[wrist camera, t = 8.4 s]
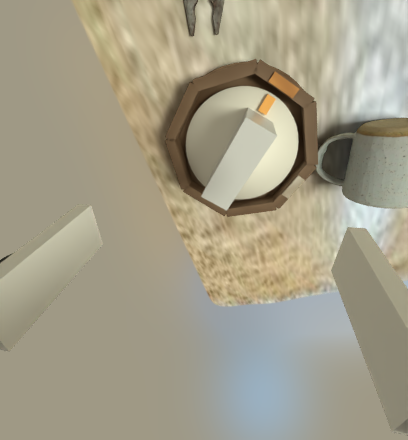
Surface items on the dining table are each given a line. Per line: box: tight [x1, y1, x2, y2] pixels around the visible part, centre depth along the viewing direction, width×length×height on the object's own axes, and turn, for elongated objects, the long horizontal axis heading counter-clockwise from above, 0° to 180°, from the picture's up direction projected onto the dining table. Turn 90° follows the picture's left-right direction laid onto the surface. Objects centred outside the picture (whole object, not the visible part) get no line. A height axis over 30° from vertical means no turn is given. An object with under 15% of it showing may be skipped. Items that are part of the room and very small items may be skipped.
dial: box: [186, 86, 299, 211], centre depth 26 cm, size 14×14×8 cm
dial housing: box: [165, 59, 318, 217], centre depth 29 cm, size 18×18×4 cm
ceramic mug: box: [316, 118, 408, 209], centre depth 26 cm, size 11×8×8 cm
